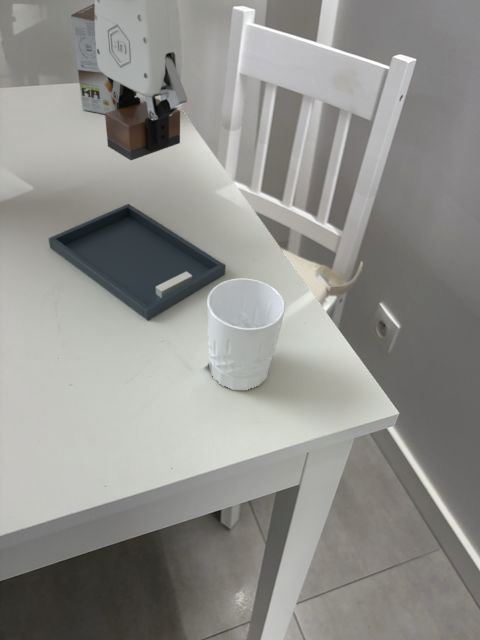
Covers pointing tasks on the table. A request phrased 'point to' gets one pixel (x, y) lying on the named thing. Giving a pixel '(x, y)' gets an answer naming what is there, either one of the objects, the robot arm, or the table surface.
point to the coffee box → (90, 65)
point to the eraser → (135, 130)
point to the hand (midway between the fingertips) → (143, 138)
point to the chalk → (173, 284)
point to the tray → (136, 259)
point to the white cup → (243, 331)
